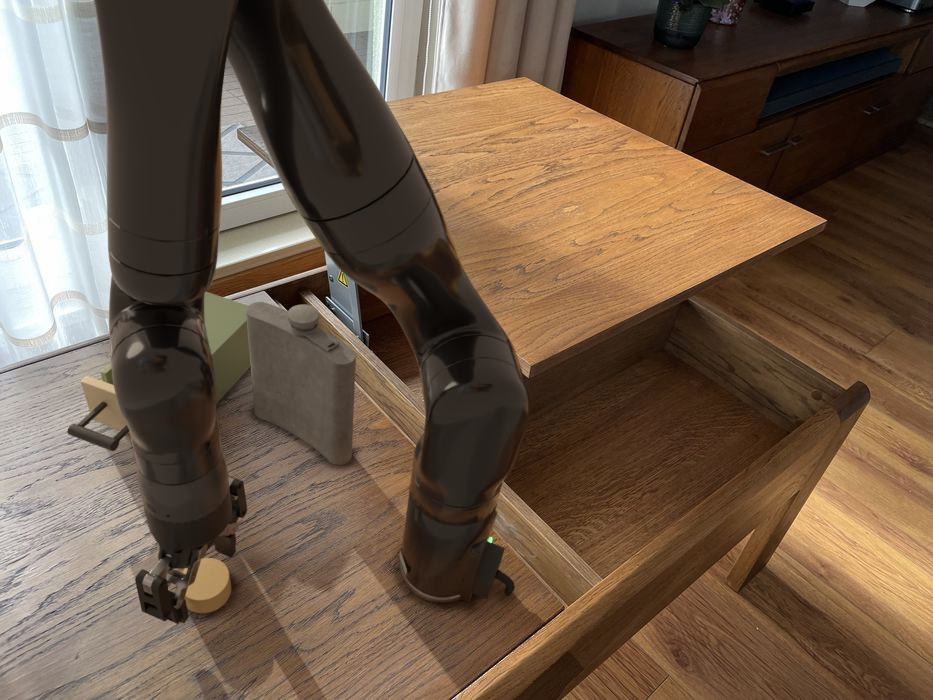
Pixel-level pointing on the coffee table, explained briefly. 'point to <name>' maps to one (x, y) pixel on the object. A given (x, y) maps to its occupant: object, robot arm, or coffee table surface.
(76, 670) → the coffee table surface
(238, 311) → the cabinet
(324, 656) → the coffee table surface
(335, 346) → the hip flask
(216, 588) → the tan short cylinder
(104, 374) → the drawer
